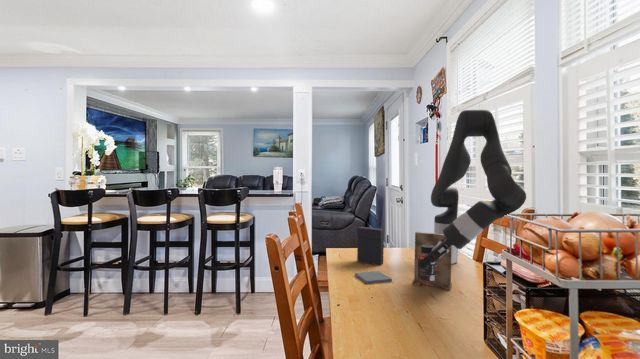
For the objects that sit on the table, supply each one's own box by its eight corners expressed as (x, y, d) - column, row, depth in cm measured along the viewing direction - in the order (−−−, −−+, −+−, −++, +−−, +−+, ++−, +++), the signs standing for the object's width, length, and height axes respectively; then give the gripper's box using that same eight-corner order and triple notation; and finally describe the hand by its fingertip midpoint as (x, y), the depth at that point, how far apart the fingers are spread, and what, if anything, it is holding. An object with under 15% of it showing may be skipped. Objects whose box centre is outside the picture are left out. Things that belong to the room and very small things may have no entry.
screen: (412, 284, 119) (413, 233, 118) (415, 280, 123) (416, 231, 123) (450, 290, 113) (451, 236, 113) (451, 286, 118) (453, 234, 117)
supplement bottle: (438, 285, 104) (439, 248, 104) (418, 283, 105) (418, 247, 105) (435, 279, 110) (436, 244, 109) (416, 277, 111) (417, 243, 111)
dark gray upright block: (384, 263, 145) (384, 228, 145) (380, 265, 142) (380, 230, 141) (360, 259, 151) (361, 226, 151) (356, 261, 148) (357, 227, 147)
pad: (378, 273, 131) (378, 270, 131) (391, 281, 122) (391, 278, 122) (354, 275, 128) (354, 273, 128) (366, 284, 118) (366, 281, 118)
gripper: (455, 217, 110) (417, 250, 116) (451, 224, 97) (408, 260, 103) (473, 235, 108) (433, 267, 113) (471, 244, 95) (426, 280, 101)
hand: (421, 263), depth 108 cm, fingers closed on supplement bottle, 6 cm apart
